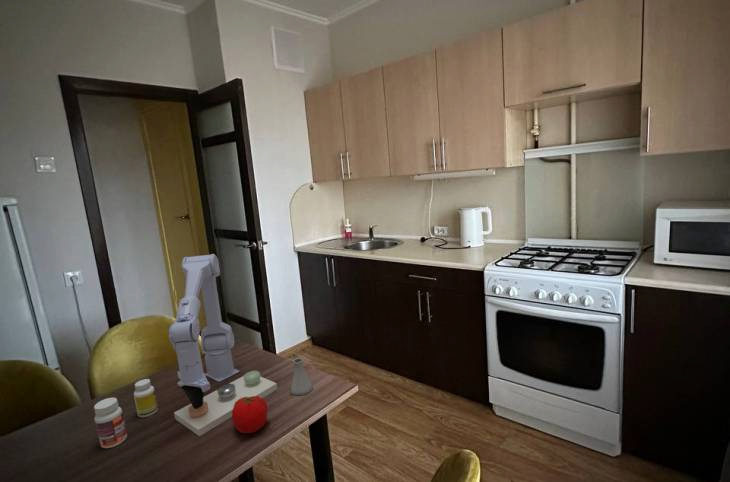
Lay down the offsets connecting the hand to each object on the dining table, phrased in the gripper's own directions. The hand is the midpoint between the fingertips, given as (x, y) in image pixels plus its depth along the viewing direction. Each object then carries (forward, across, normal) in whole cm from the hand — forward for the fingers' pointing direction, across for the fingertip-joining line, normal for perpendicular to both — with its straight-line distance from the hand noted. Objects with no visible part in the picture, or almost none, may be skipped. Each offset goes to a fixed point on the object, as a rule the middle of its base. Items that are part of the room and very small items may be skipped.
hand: (198, 406), depth 108 cm
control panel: (+4, 0, +9) cm, 10 cm away
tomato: (+4, +16, +6) cm, 18 cm away
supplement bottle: (+4, -18, -7) cm, 20 cm away
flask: (+4, +14, +26) cm, 30 cm away
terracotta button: (+2, 0, 0) cm, 2 cm away
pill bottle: (+4, -12, -18) cm, 22 cm away
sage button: (+1, 0, +18) cm, 18 cm away
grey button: (+1, 0, +9) cm, 9 cm away
